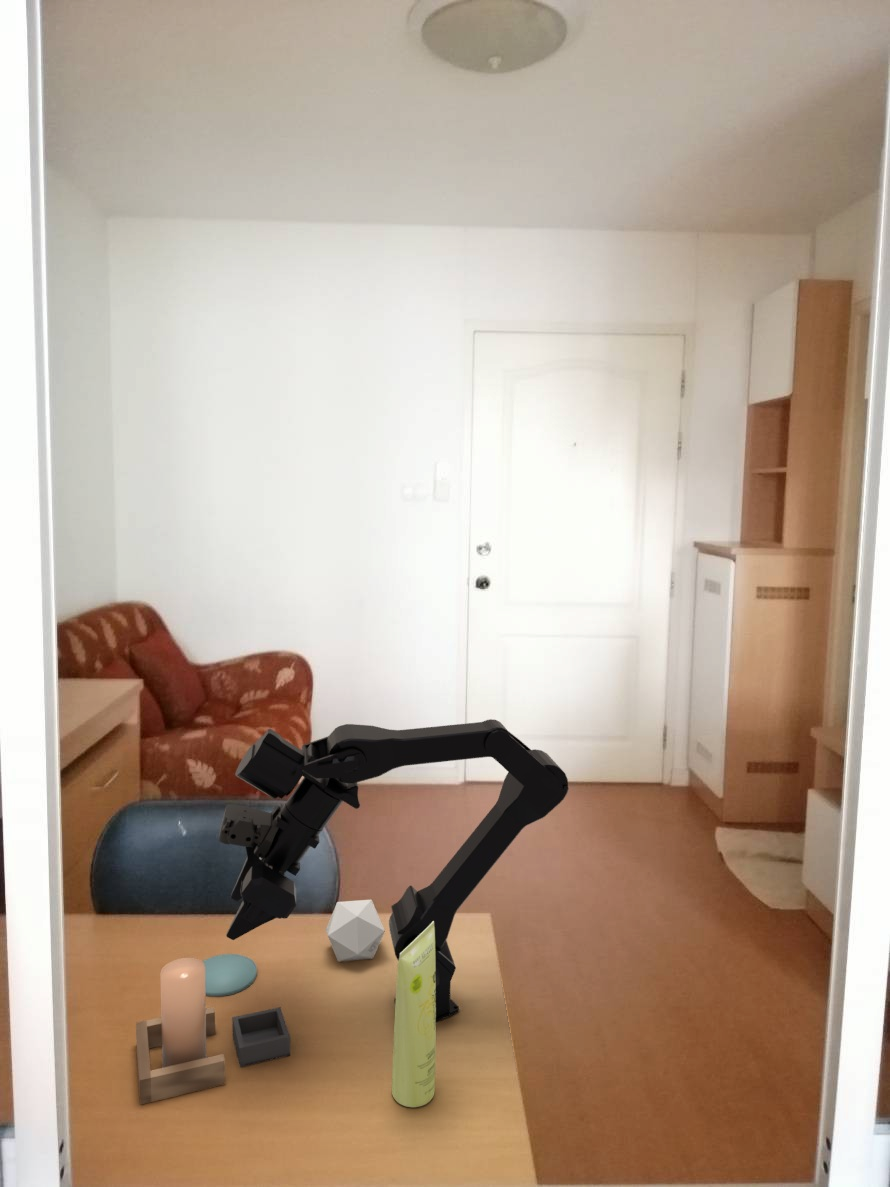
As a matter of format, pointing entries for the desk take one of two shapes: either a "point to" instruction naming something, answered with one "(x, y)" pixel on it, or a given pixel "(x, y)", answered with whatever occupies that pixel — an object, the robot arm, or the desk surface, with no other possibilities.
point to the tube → (415, 1022)
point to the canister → (183, 1011)
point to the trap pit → (260, 1036)
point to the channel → (175, 1076)
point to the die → (355, 930)
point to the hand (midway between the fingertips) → (231, 917)
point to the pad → (228, 974)
